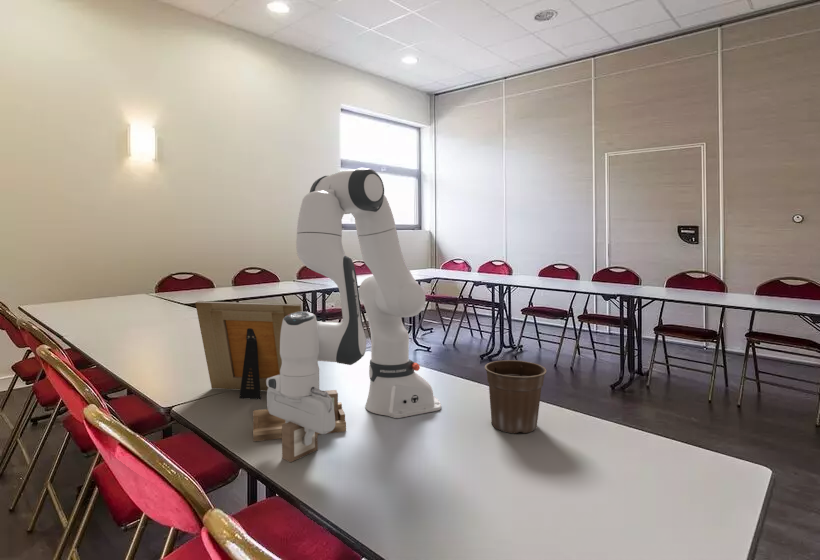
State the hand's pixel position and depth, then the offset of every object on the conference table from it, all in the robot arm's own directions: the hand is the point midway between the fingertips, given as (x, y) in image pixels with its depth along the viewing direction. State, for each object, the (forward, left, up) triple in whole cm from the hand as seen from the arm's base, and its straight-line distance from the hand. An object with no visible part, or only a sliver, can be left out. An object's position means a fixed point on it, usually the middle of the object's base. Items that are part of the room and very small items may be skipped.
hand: (300, 441), depth 112 cm
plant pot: (-57, -2, -3) cm, 57 cm away
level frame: (-7, -14, -2) cm, 16 cm away
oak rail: (-1, -14, -3) cm, 14 cm away
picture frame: (+10, -45, -3) cm, 46 cm away
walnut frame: (0, 0, -3) cm, 3 cm away
